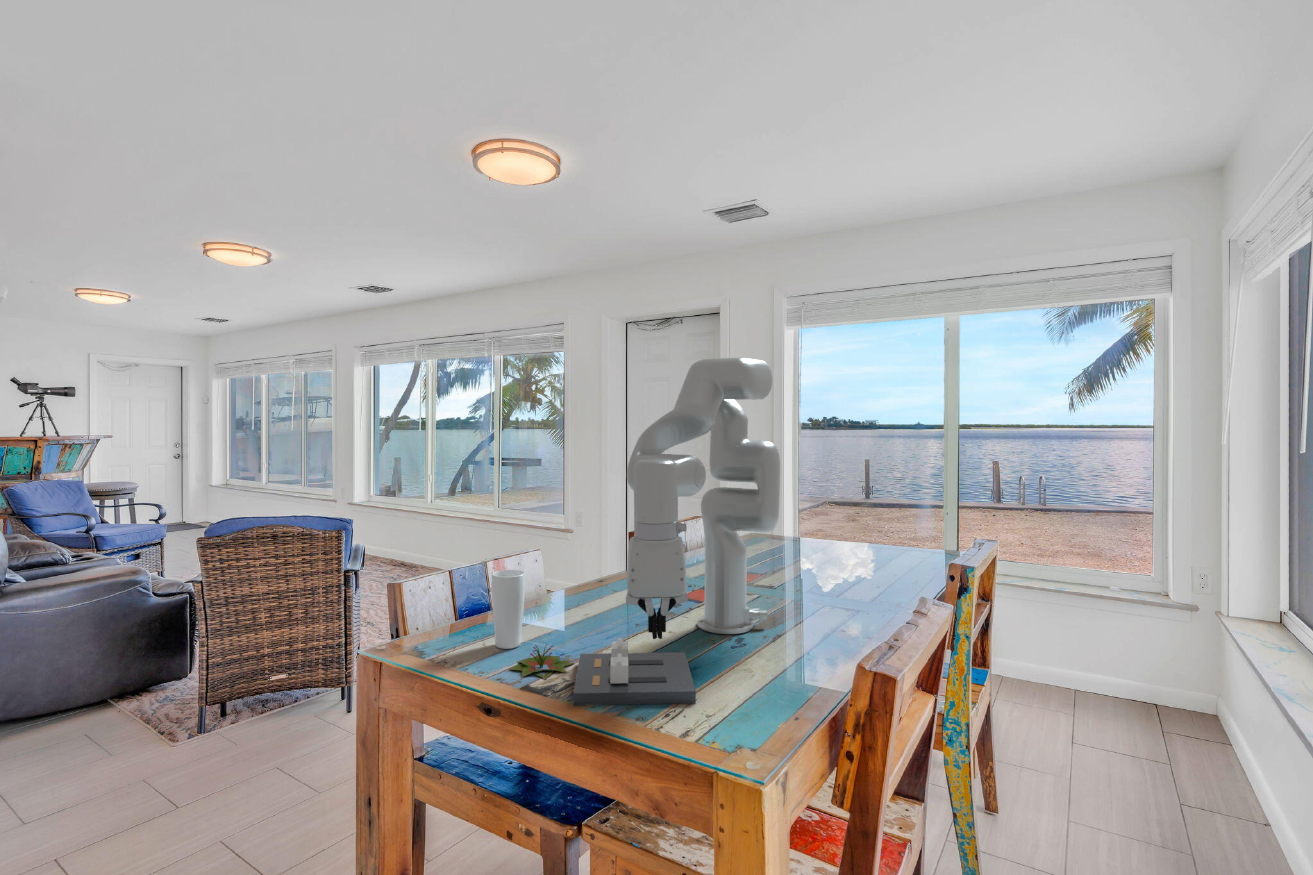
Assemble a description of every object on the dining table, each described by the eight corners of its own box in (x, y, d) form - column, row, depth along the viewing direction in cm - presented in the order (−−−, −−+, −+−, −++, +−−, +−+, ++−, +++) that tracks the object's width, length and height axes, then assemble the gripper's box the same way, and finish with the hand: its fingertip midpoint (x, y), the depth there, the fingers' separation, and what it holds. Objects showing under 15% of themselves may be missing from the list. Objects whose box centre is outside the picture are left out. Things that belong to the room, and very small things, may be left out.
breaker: (627, 657, 119) (627, 638, 119) (627, 665, 115) (628, 645, 115) (611, 657, 118) (611, 638, 118) (611, 665, 115) (611, 645, 114)
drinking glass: (531, 642, 133) (531, 571, 133) (511, 653, 127) (511, 578, 127) (505, 638, 136) (505, 568, 136) (484, 648, 130) (484, 574, 129)
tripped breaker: (627, 673, 111) (628, 653, 111) (628, 683, 107) (628, 661, 107) (610, 674, 111) (610, 653, 110) (610, 683, 107) (610, 662, 106)
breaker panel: (684, 662, 122) (684, 651, 122) (695, 703, 104) (695, 690, 104) (580, 664, 121) (580, 653, 121) (573, 705, 103) (573, 692, 103)
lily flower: (537, 654, 128) (537, 631, 128) (586, 665, 122) (586, 641, 122) (495, 674, 117) (495, 649, 117) (546, 687, 112) (546, 661, 111)
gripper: (696, 525, 113) (697, 627, 114) (612, 527, 112) (613, 629, 113) (702, 534, 105) (702, 643, 106) (612, 536, 105) (613, 645, 105)
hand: (657, 635), depth 110 cm, fingers closed
